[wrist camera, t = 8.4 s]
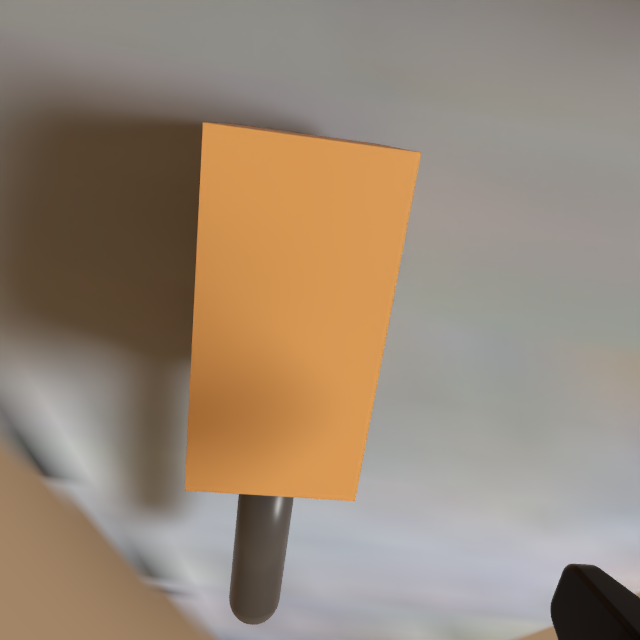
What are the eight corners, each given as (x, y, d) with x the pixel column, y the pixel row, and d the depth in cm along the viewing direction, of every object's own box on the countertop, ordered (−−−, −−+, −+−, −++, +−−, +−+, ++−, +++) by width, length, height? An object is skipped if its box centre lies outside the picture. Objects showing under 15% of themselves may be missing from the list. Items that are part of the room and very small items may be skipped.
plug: (230, 123, 14) (202, 122, 9) (376, 143, 14) (421, 152, 10) (201, 551, 19) (174, 691, 14) (309, 556, 19) (317, 694, 15)
